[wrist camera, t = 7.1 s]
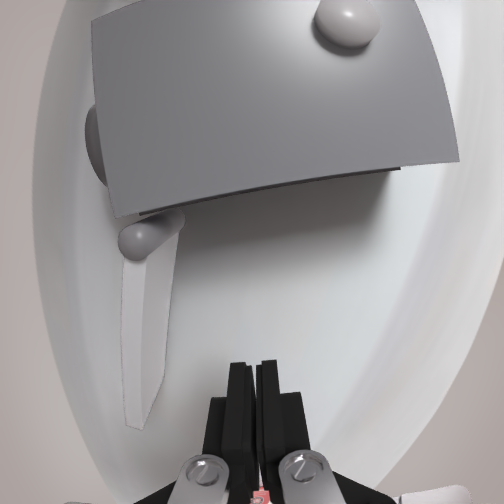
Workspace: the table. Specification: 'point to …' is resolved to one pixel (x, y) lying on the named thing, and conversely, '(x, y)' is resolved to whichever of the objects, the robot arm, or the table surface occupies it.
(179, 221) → the side door
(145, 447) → the table surface
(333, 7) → the grey knobbed panel
